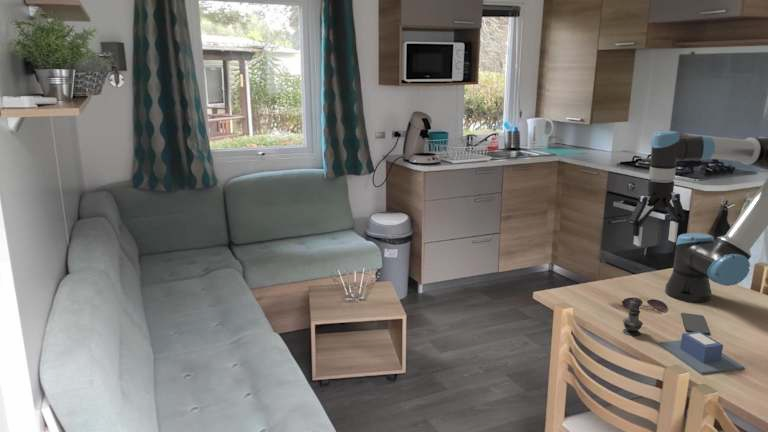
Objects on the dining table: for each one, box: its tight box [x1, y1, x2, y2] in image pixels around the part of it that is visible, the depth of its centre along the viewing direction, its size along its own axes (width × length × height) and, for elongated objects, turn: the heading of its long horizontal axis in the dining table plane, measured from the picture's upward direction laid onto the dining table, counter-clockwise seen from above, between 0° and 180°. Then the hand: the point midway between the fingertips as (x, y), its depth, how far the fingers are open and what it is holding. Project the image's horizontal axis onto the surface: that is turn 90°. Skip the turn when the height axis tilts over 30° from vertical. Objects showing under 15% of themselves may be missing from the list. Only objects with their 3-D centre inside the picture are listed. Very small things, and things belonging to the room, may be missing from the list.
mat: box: [658, 339, 745, 375], centre depth 171 cm, size 14×18×1 cm
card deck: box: [680, 331, 724, 363], centre depth 170 cm, size 9×6×5 cm, turn 15°
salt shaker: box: [622, 297, 644, 337], centre depth 185 cm, size 6×6×12 cm
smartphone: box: [680, 312, 711, 336], centre depth 192 cm, size 7×1×15 cm
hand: (654, 243), depth 193 cm, fingers open, 13 cm apart
